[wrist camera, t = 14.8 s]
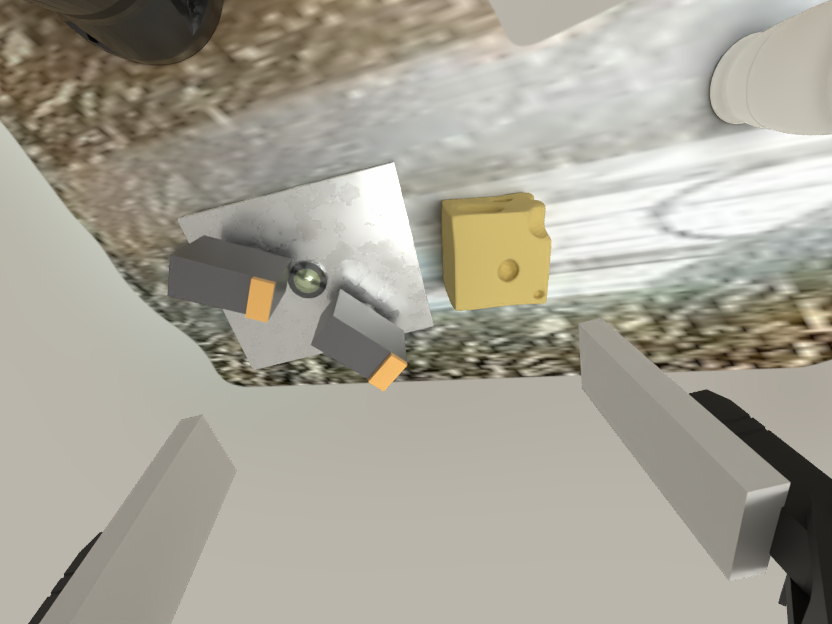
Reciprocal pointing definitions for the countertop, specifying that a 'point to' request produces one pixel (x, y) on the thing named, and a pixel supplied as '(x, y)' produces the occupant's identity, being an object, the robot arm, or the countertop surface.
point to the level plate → (323, 256)
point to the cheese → (495, 251)
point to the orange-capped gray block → (361, 340)
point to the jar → (780, 76)
